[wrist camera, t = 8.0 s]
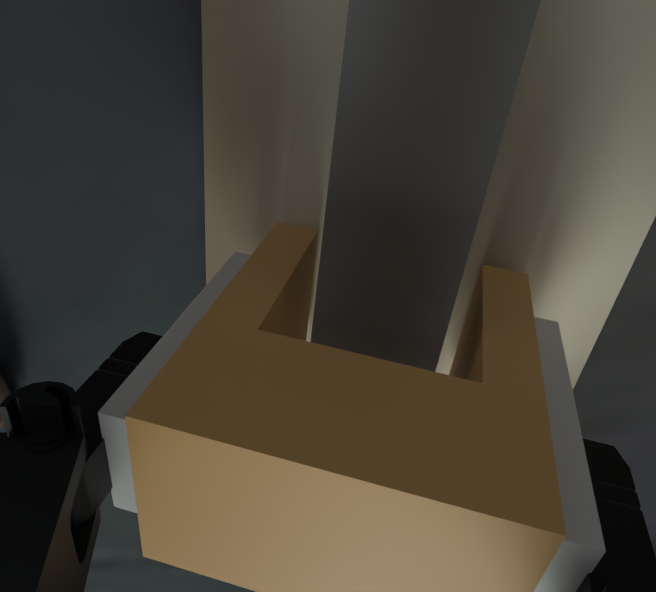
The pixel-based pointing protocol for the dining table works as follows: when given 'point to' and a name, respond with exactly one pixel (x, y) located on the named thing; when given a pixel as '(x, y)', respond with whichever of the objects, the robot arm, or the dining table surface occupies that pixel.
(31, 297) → the dining table surface
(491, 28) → the rail block
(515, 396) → the clip
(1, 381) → the pottery mug
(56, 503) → the robot arm
